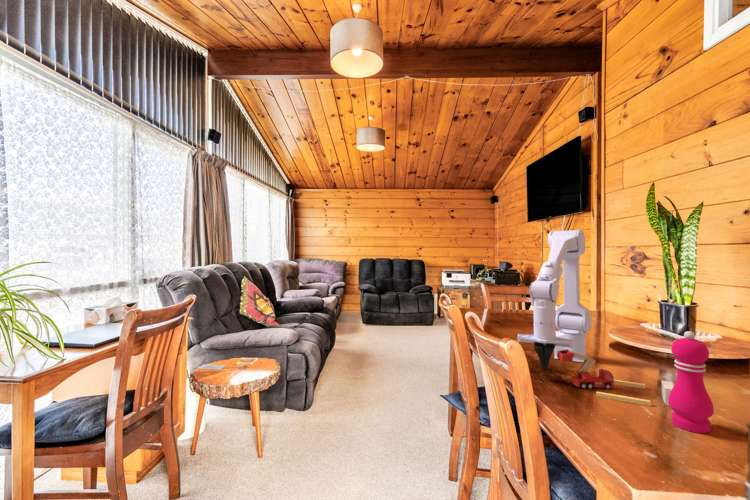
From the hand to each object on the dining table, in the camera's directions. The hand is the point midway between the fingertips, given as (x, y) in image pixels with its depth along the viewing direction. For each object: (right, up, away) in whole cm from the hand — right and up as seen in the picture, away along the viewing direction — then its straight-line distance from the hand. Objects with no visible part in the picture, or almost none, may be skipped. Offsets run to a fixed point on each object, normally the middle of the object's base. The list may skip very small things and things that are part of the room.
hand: (545, 369), depth 104 cm
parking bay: (+17, -3, -11) cm, 21 cm away
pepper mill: (+18, -3, -28) cm, 33 cm away
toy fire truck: (+9, -3, -5) cm, 11 cm away
